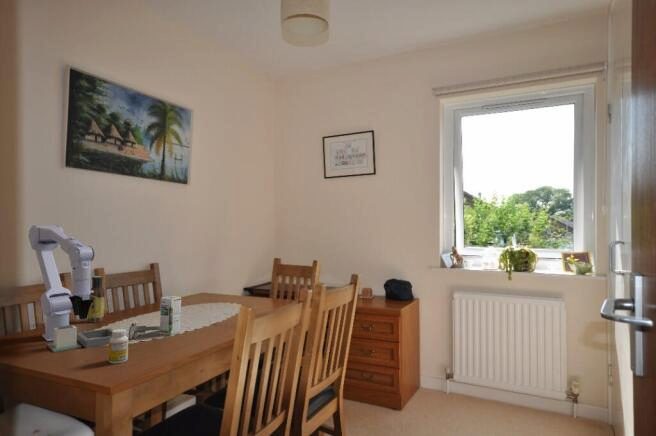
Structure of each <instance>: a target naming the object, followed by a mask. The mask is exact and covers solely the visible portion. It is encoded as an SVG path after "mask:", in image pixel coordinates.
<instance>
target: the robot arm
mask: <svg viewBox="0 0 656 436" xmlns="http://www.w3.org/2000/svg"><path fill="white" fill-rule="evenodd" d="M28 240H29V244H30V247H31V249H32V250H34V251H35V254H36V258H37V261H38V264H39V265H38V266H39V268H40V272H41V275H42V280H43V283H44V286H45V290H46V291H45V292H44V293H43V294H41V296H40V299H39V300H40V310H41V312H42V314H43V315H45V316H46V317H45V326H44V327H45V333H44V334H42V335H41V336H42V338H44V340H46V341H47V342H50V341H54V328H58V327H59V326H66V325H70V313H71V314H72V312H73V314H74V317H75V316H78V317H79V320H85V319H87V320H88V312H89V308H90V306H91V304H92V302H93V299H89V295H90V293H94V291H93V290H91V277H92V275H91V272H92V271H91V269H92V265H91V264H92V262H93V261H94V260H95V256H96V255H95V249H94V248H93V246H92V245H84V244H83V243H82V242H80V241H78V240H77V238H76V237H74V236H73V237H72V236H70V237H68V235H66V234H65V233H64V228H63V227H61V226H60V225H58V224H57V225H32V226H31V227H30V229H29V230H28ZM58 246H60V249H61V251H62V252H64V253H65V254H67V255H68V258H69V261H70V266H71V268H72V269H71V272H72V273H71V276H72V277H71V290H70V289H68V288H67V287H64V286H63V283H62V281H61V278H60V273H59V270H58V267H57V264H56V260H55V258H54V257H55V256H54V255H53V254H54V253H53V250H55V249H57V248H58Z"/></svg>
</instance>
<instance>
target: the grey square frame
mask: <svg viewBox="0 0 656 436" xmlns="http://www.w3.org/2000/svg"><path fill="white" fill-rule="evenodd" d="M113 330H114V329H113V328H110V327H107V328H101V329H95V330H94V329H93V330H89V331H82V332H77V343H80V344H81V346H83V347H84V348H86V349H88V348H95V347H99V346H105V345H109V340H110V338H112V337H113V336H112V331H113ZM106 335H107V336H106ZM99 336H101V337H99ZM94 337H95V338H94Z"/></svg>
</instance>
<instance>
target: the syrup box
mask: <svg viewBox="0 0 656 436" xmlns="http://www.w3.org/2000/svg"><path fill="white" fill-rule="evenodd" d="M181 315H182V297H181V296H174V295H173V296H172V295H165V296H162V297H160V315H159V318H160V319H159V326H160V330H159V334H160V335H165V336H173V335H176V334H178V333H180V332H181Z"/></svg>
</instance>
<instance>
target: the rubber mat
mask: <svg viewBox="0 0 656 436" xmlns="http://www.w3.org/2000/svg"><path fill="white" fill-rule="evenodd" d="M47 347H48V348H49V350H51V351H52V352H53V353H58V352H63V351H70V350H76V349H81V348H82V345H80V344H79V342H77V345H72V346H66V347H60V348H56V347H55V346H54V342H53V343H47Z"/></svg>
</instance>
